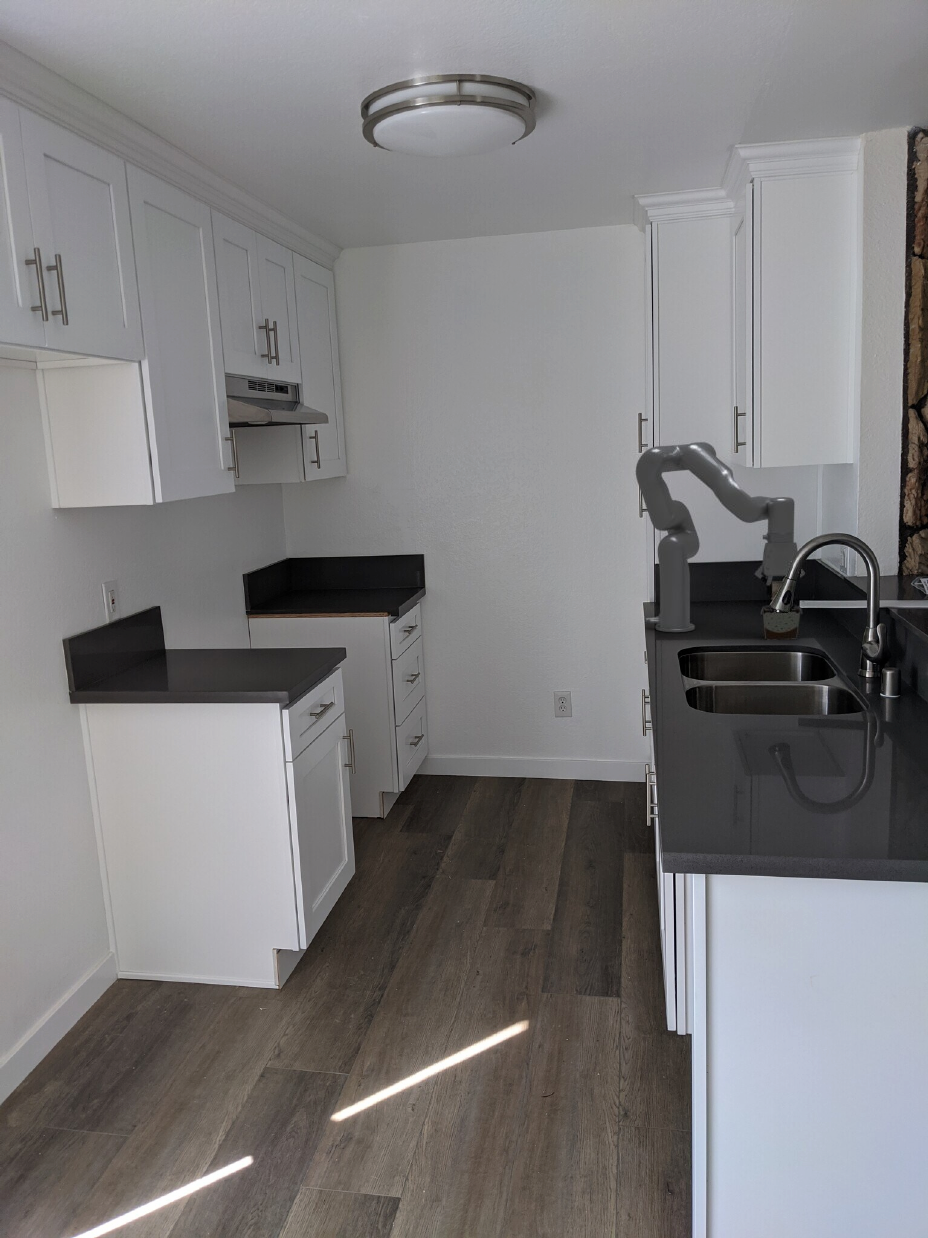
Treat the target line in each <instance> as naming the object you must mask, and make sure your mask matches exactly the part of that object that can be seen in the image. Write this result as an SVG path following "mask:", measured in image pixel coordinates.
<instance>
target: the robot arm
mask: <svg viewBox="0 0 928 1238" xmlns="http://www.w3.org/2000/svg"><path fill="white" fill-rule="evenodd" d="M680 471H681V472H682V471H689V472H690V473H691V474H693V476H695V477H696V478H697V479H698V480H700V481H701V482H702V483H703V484H704V485H706V487H708V488H709V489H710V490H711V491H712V493H713V494H714V496H715V497H716V498H717V499H718V501H719V502H720V504H721V505H722V506H724V508H725V509H726V510H727V511H729V512H730V513H731V514H732V515H734V517H736V518H737V519H739V520H740V521H742V522H743V523H747V524H751V523H752V524H753V523H756V522H760V521H766V520H767V532H766V534H763V535H762V540H766V542H765V544H764V548H763V554H762V555H763V556H762V563H761V565H760V567H758V569H757V570H756V571H755V572H754V575H755V576H756V577H758V578H759V579H760V580H761V581H762V582H763V583H764V584H765V595H766V596H767V598H768V599H771V598H772V585H771V581H773V577H787V576H786V574H787V572H788V569H789V566H790V564H791V561H792V560H793V559H794V557H795V555H796V554H797V552H798V553H799V551H798V545H797V544H798V543H797V542H795V541H794V538H795V532H794V531H795V500H794V498H792V497H789V496H787V497H785V496H780V497H770V496H762V495H761V496H760V495H759V496H753V497H752V496H751V495H749V494H748V493H747V492H746V491H744V490H743V489H742V488H741V486H739V485H738V484H737V482H736V481H735V478H734V473H733V470H732V469H731V468H730V467H729V465H727V464H726V463H725V462H723V461H722V460H721V459H720V458H719V457H717V451H716V450H715V448H714V446H713V445H712V444H710V443H708V442H706V441H704V442H703V441H699V442H698V441H697V442H691V443H687V444H684V443H683V444H675V445H659V446H658V445H657V446H653V447H650V448H648V449H646V450H645V451H644V452H643V453H642V454H641V455H640V457H639V459H638V460H637V463H636V466H635V477H636V481H637V485H638V487H639V490H640V492H641V495H642V498H643V500H644V503H645V504H644V505H645V508H646V509H647V513H648V516H649V519H650V521H651V524H652V526H653V527H654V529H656V530H658V531H660V532H667V535H665V536H664V537H662V538H661V540H660V541H659V543H658V546H657V558H658V565H659V585H660V586H659V587H660V588H659V591H660V593H659V603H660V606H659V607H660V609H659V614H658V616H657V615H656V616H655V617H652V616H647V617H645V622H646V623H645V624H651V625H652V624H653V625H654V624H656V625H655V629H656V631H660V632H666V633H686V632H690V631H691V632H692V631H693V630H695V629H696V628H695V627H696V626H695V624H693V623H692V622H691V619H690V618H691V614H690V613H691V612H690V611H691V606H690V605H691V603H690V602H691V601H690V600H691V599H690V598H691V596H690V595H691V593H690V592H691V588H690V587H691V585H690V584H691V582H690V581H691V578H690V577H691V575H690V573H691V572H690V567H689V561H688V560H689V559H691V558H694V557H695V556H696V555H697V554H698V552H699V549H700V539H699V535H698V533H697V529H696V527H695V523H694V520H693V519H692V515H691V513H690V511H689V508H688V507H687V506H686V505H685V504H684V502H682V501H680V500H676V499H673V498H672V495H671V493H670V490H669V486H668V484H667V483H666V481H665V480H664V478H663V475H662V474H663V473H670V472H680ZM762 573H763V574H764V575H765V576H766V577H765V576H764V575H763V574H762ZM805 574H806V572H805V571H804V570H803V568H802V569H801V574H800V578H799V579H801V578H802V577H803V576H805ZM690 622H691V623H690Z"/></svg>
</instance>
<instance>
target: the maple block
mask: <svg viewBox="0 0 928 1238" xmlns="http://www.w3.org/2000/svg"><path fill="white" fill-rule="evenodd" d="M783 581H784V580H777V581H776V580H772V581H771V585H772V598H770V599H771V600H772V601H774V600H773V598H774V597H775V594H777V592H778V589H779V588H780V586H781V585H782V583H783Z"/></svg>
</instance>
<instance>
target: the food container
mask: <svg viewBox="0 0 928 1238" xmlns="http://www.w3.org/2000/svg"><path fill="white" fill-rule="evenodd" d="M771 605H772V604H770V605H769V604H768V605H765V606H762V609H760V615H762V621H763V623H762V624H763V634H764V640H765V639H788V638H789V639H791V638H797V639H798V632H799V626H800V625H799V624H800V618H801V615H803V609H802V607H801V606H798V605H794V606H795V607H794V609H792V610H791V612H788V613H776V612H774V610H772V609H771Z"/></svg>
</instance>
